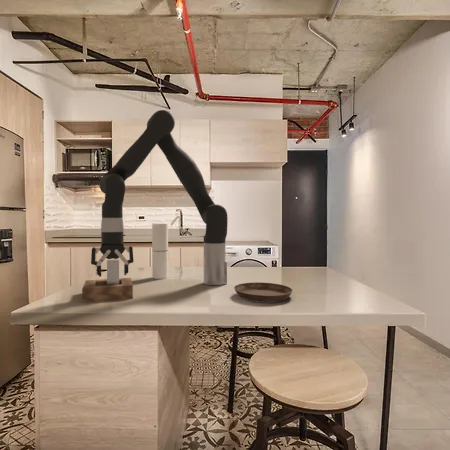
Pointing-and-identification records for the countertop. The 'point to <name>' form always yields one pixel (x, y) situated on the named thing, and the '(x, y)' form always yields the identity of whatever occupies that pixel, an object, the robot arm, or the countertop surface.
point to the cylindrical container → (160, 250)
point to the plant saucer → (263, 292)
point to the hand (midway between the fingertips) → (112, 275)
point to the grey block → (113, 272)
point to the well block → (107, 290)
